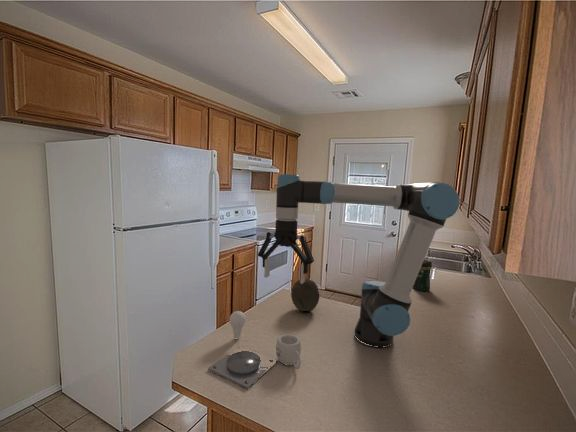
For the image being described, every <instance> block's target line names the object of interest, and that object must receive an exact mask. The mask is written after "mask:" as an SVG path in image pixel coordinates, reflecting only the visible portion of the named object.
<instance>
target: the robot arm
mask: <svg viewBox="0 0 576 432" xmlns="http://www.w3.org/2000/svg"><path fill="white" fill-rule="evenodd" d="M275 200H276V201H275V202H276V205H275V218H276V220H275V232H273V231H272V230H271V231H270V230H269V231H267V232H266V237H265V239H264V242H263V244H262V245H261V247H260V249H259V251H258V253H257V257H259V258H262V268H264V273H263V274H264V276H263V277H264V278H265V279H266V278H268V277H270V271H271V270H270V269H271V267H270V266H271V258H270V255H271V254H273V252H274V251H275V250H276V249H278V247H279V246H280V247H287V248H291V249H292V250H293V251H294V252H295V254H296V255H297V256H298V259H300V261H301V262H302V263H301V265H300V279H299V280H300V283H301V284H303V283H304V282H305V279H306V275H307V274H308V272H309V265H311V264H313V263H314V262H315V259H314V257H313V254H312V251H311V249H310V247H309V244H308V242H307V236H306V234H302V235H301V234H300V235H299V234H298V220H297V219H298V216H299V215H298V214H299V204H300V203H301V204H321V205H325V204H326V205H330V204H333V203H336V204H347V205H348V204H349V205H365V206H377V207H378V206H379V207H380V206H381V207H391V208H393V209H394V210H400V211H406V212H408V213H407V217H408V218H409V224H408V226H407V228H406V231H405V233H404V236H403V238H402V240H401V244H400V246H399V249H398V251H397V253H396V256H395V259H394V261H393V262H392V266H391V268H390V271H389V272H388V275H387V278H386V280H385V281H379V280H366V281H363V282H362V285H361V295H360V296H361V298H360V312H359V318H358V321H357V323H356V325H355V326H354V327H355V328H354V333H355V336H356V337H357V338H358V339H359V340H360V341H362V342H364V343H366V344H369V345H372V346H378V347H383V346H388V345H390V344H392V343H393V344H394V336H395V337H396V336H397V335H401V334H403V333H405V332H406V331H407V329H409V327H410V323H411V316H410V313H409V310H410V307H411V305H412V302H413V300H412V299H411V296H410V295H411V292H412V290H413V289H414V288H413V285H414V283H415V280H416V278H417V275H418V273H419V271H420V268H421V266H422V263H423V261H424V260H426V259H425V258H426V255H427V253H428V251H429V249H430V246H431V244H432V241H433V239H434V237H435V234H436V231H437V230H440V229H442V228H443V227H444V226H445V224H446V221H447V219H450V218H451V217H453V216H454V215H456V213H457V212H458V209H459V207H460V197H459V194H458V192H457V190H456V189H455V188H454V187H453V186H452V185H450V184H448V183H445V182H440V181H432V182H417V183H409V184H401V183H398V184H396V185H394V186H386V185H374V184H373V185H372V184H355V183H338V182H331V181H325V180H324V181H319V180H318V181H317V180H316V181H314V180H312V181H309V180H308V181H307V180H301V179H300V176H299V174H290V173H289V174H288V173H287V174H286V173H281V174H279V175H277V183H276V199H275ZM274 238H275V241H274V242H273V244H272V245H271V246H270V247H269V245H270V243H271V240H272V239H274ZM297 240H298V242H299V243H300V244H301V247H302V249H303V250H302V249H301V248H300V245H299V244H298V243H297ZM268 247H269V249H268ZM266 250H267V251H266ZM354 333H353V334H354ZM355 336H354V337H355ZM393 344H392V345H393Z"/></svg>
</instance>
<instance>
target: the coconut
mask: <svg viewBox="0 0 576 432" xmlns="http://www.w3.org/2000/svg"><path fill="white" fill-rule="evenodd" d="M300 280H301V279H299V280H297V281H296V282H295V283H294V284H293V286H292V288H291V292H290V293H291V294H290V295H291V296H290V297H291V300H292V304H293V305H294V307H295V308H296V309H298V311H300V310H301V311H300V312H302V311H310V312H312V311H314V310H315V309H316V307H317V305H319V301H320V291H319V286H318V284H317V283H316V282H315V281H314V280H313V279H309V278H308V279H306V278H305V282H304V283H303V284H301V283H300Z"/></svg>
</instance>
